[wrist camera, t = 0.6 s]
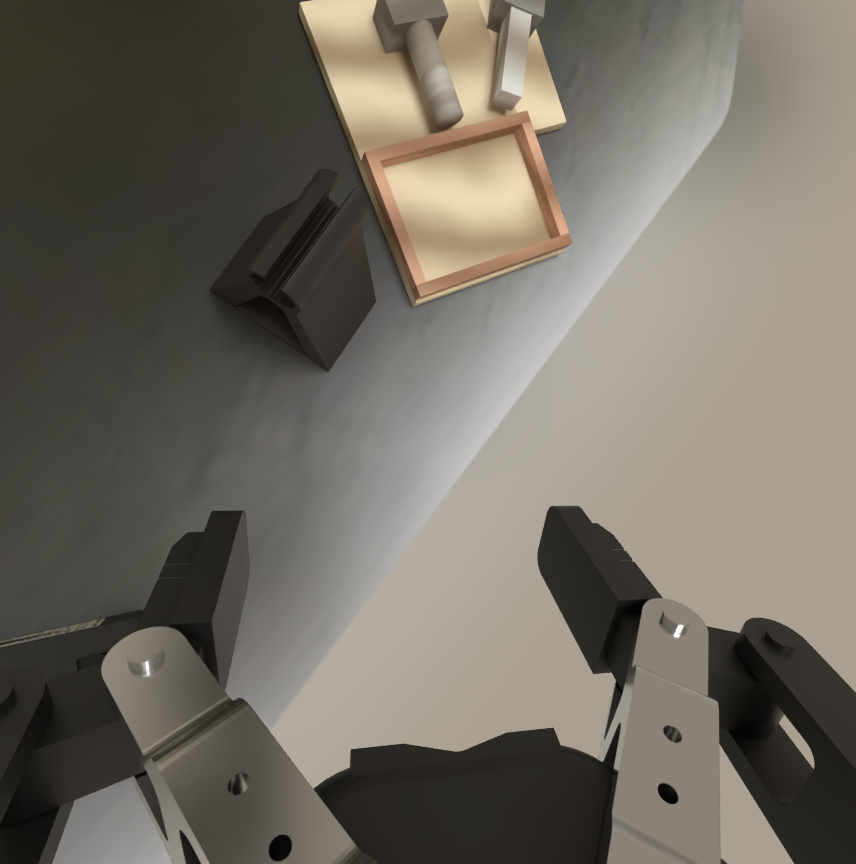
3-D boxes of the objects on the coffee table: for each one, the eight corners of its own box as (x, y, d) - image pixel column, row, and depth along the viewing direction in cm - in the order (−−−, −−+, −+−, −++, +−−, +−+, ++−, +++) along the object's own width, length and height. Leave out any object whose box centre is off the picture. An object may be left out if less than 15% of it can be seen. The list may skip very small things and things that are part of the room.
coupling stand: (299, 14, 34) (302, -33, 30) (509, -21, 39) (532, -64, 35) (412, 306, 36) (427, 294, 33) (596, 240, 41) (626, 224, 38)
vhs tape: (148, 605, 32) (141, 617, 30) (167, 725, 32) (161, 744, 30) (-140, 668, 28) (-170, 686, 26) (-114, 805, 28) (-142, 833, 26)
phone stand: (375, 303, 36) (425, 244, 24) (327, 372, 35) (357, 344, 23) (264, 219, 33) (262, 110, 22) (210, 290, 32) (177, 215, 21)
